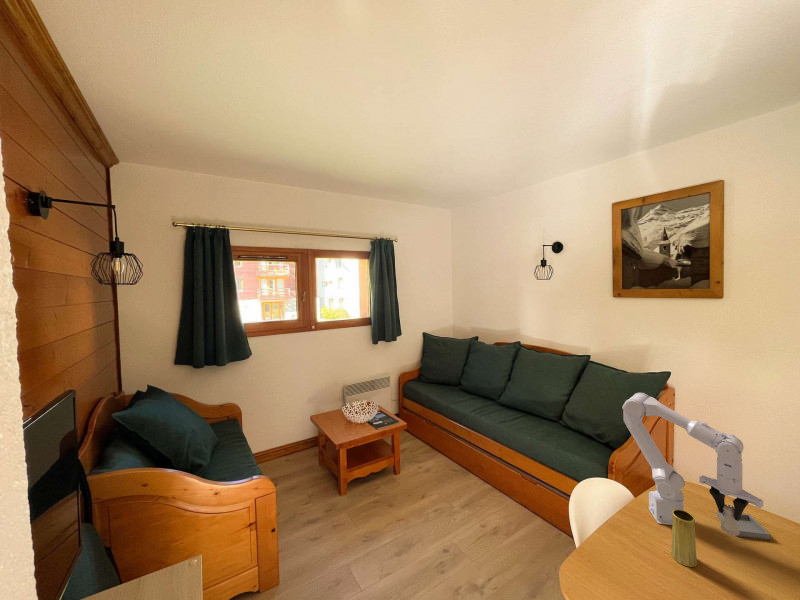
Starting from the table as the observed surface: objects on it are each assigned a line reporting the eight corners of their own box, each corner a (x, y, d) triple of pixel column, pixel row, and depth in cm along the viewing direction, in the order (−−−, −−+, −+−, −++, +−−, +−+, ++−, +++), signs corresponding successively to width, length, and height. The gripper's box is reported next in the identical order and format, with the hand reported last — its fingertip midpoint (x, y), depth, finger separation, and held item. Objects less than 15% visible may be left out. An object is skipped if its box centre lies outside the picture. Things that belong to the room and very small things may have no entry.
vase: (691, 552, 103) (690, 509, 102) (701, 569, 97) (701, 524, 96) (667, 548, 105) (666, 506, 104) (676, 565, 99) (675, 520, 98)
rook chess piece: (744, 536, 102) (743, 512, 102) (728, 536, 103) (727, 511, 103) (732, 526, 107) (731, 502, 106) (716, 525, 107) (715, 502, 107)
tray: (735, 536, 108) (735, 530, 108) (717, 516, 116) (717, 510, 116) (770, 540, 105) (770, 534, 105) (749, 519, 114) (749, 514, 114)
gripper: (694, 467, 109) (694, 506, 110) (756, 492, 95) (755, 535, 96) (705, 460, 111) (705, 498, 113) (766, 483, 98) (766, 526, 99)
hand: (729, 515), depth 105 cm, fingers closed on rook chess piece, 3 cm apart
